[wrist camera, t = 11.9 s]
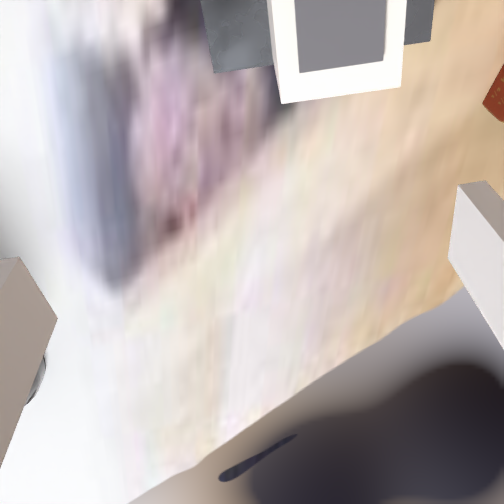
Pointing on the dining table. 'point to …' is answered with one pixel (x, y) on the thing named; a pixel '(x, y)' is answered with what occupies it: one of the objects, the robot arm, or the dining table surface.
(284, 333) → the dining table surface
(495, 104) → the carton
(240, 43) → the dark grey plate
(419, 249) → the dining table surface
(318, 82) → the white-framed grey panel
